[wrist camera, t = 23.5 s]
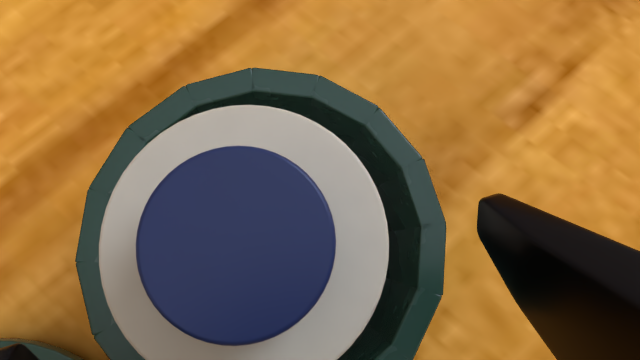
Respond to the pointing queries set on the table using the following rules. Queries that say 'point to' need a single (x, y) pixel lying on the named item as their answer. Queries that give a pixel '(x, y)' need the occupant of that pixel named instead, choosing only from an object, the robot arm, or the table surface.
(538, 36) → the table surface
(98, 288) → the tin
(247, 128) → the bottle
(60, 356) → the tin lid
